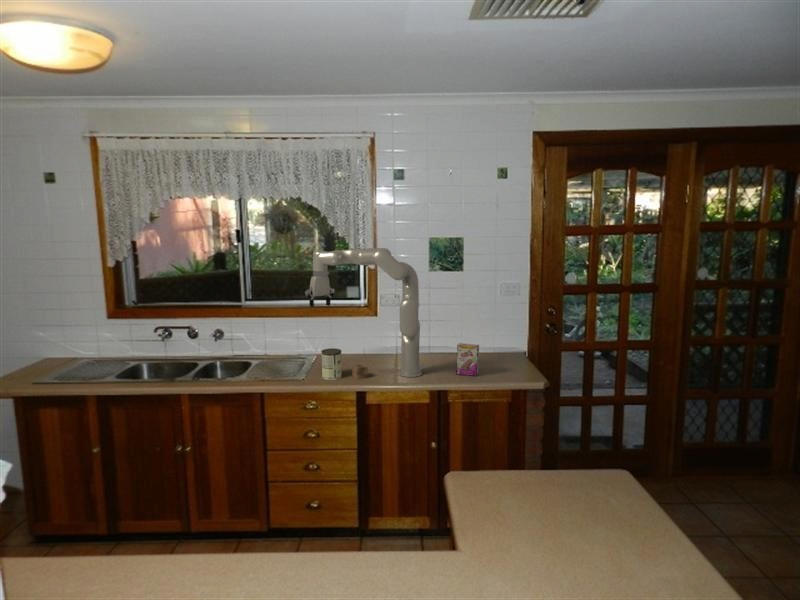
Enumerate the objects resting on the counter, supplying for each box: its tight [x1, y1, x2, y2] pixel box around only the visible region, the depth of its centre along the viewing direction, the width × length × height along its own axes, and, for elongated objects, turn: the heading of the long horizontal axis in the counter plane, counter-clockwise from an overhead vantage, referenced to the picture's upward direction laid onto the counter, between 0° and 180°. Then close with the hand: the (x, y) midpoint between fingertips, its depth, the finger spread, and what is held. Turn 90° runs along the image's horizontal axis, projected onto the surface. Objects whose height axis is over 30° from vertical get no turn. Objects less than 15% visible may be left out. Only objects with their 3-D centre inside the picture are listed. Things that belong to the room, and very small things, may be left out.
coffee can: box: [321, 347, 343, 381], centre depth 265 cm, size 10×10×14 cm
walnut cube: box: [352, 363, 369, 380], centre depth 266 cm, size 6×6×6 cm
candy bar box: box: [455, 342, 480, 377], centre depth 270 cm, size 11×5×16 cm, turn 74°
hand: (320, 306), depth 271 cm, fingers open, 9 cm apart
